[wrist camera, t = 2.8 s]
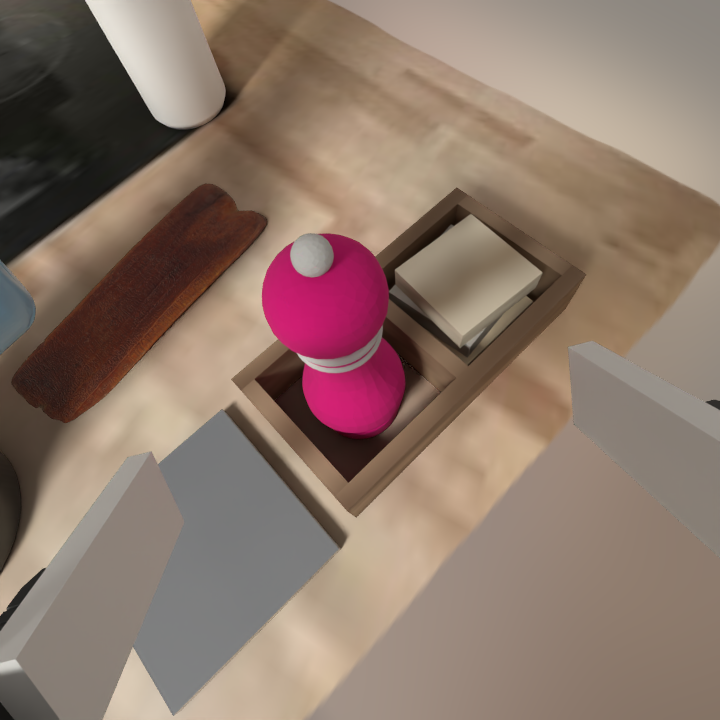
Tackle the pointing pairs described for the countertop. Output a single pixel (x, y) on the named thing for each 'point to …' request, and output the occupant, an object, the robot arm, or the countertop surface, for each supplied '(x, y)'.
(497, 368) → the tray
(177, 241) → the wooden tablet
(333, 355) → the pepper mill
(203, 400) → the countertop surface
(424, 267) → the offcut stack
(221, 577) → the slate tile
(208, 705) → the countertop surface
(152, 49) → the alcohol
